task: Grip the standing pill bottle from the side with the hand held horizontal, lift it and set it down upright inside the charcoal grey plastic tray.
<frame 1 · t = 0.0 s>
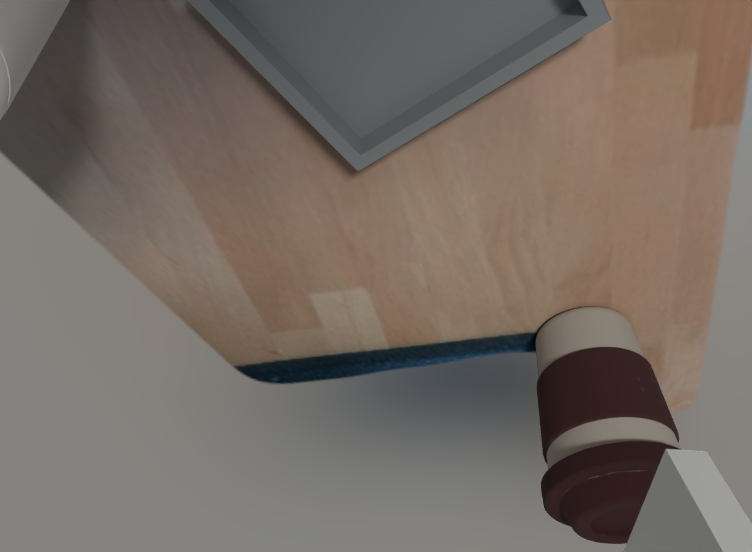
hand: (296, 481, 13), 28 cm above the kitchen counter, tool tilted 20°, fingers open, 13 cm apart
coffee cup: (581, 331, 55), on the kitchen counter
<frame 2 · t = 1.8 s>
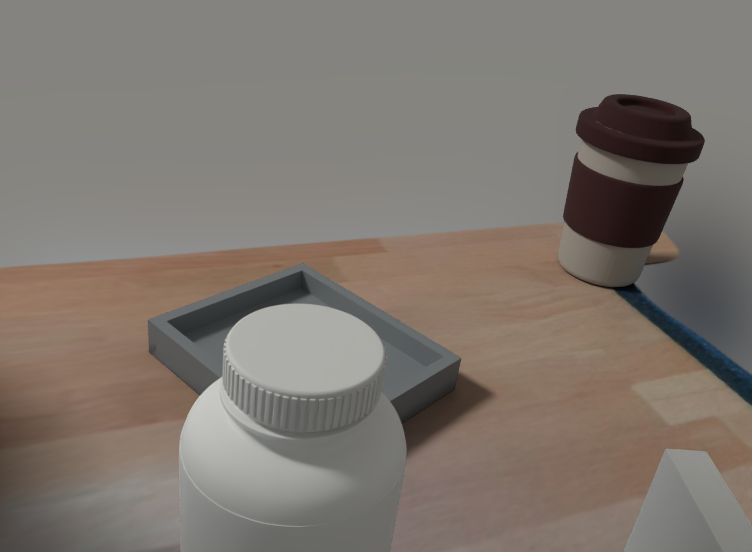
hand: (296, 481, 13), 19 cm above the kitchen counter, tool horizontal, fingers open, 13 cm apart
coffee cup: (596, 270, 65), on the kitchen counter
tray: (302, 370, 46), on the kitchen counter
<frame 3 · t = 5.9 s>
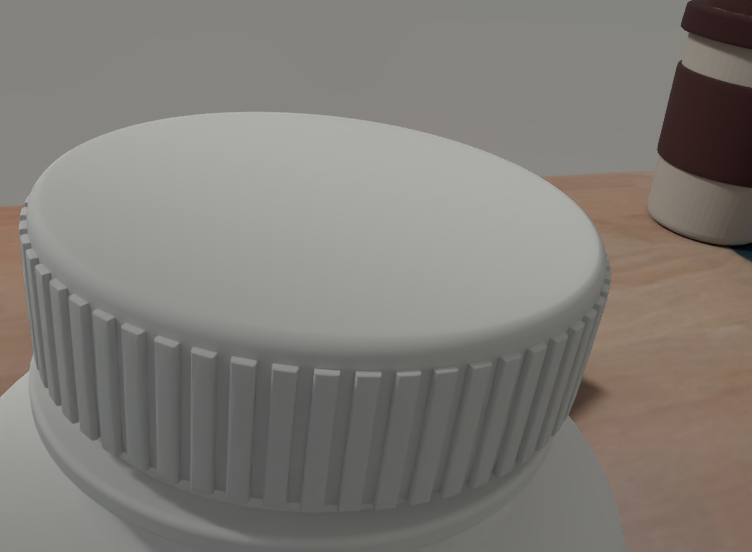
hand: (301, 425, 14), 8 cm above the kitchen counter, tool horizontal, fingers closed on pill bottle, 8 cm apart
coffee cup: (699, 226, 48), on the kitchen counter
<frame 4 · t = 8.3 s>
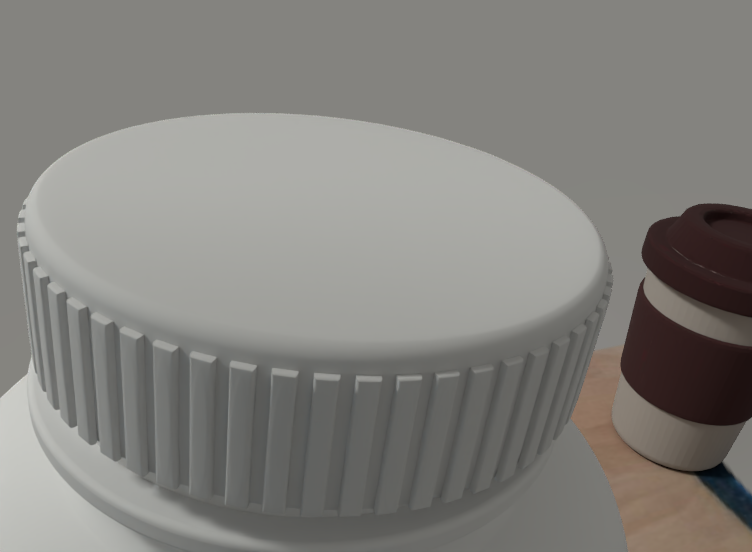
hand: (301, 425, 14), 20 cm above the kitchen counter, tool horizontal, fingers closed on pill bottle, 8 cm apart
coffee cup: (665, 437, 47), on the kitchen counter
when the fingers open (10 cm above the kitchen counter, at t = 11.1 s): pill bottle drops 1 cm, resting on tray.
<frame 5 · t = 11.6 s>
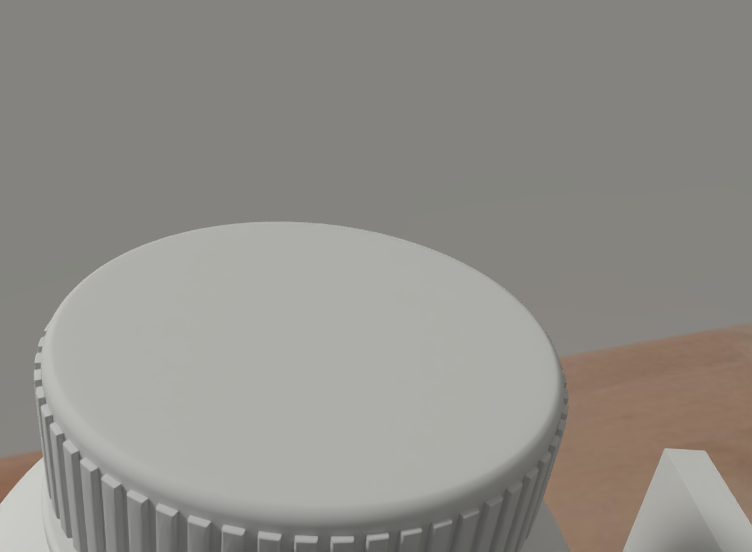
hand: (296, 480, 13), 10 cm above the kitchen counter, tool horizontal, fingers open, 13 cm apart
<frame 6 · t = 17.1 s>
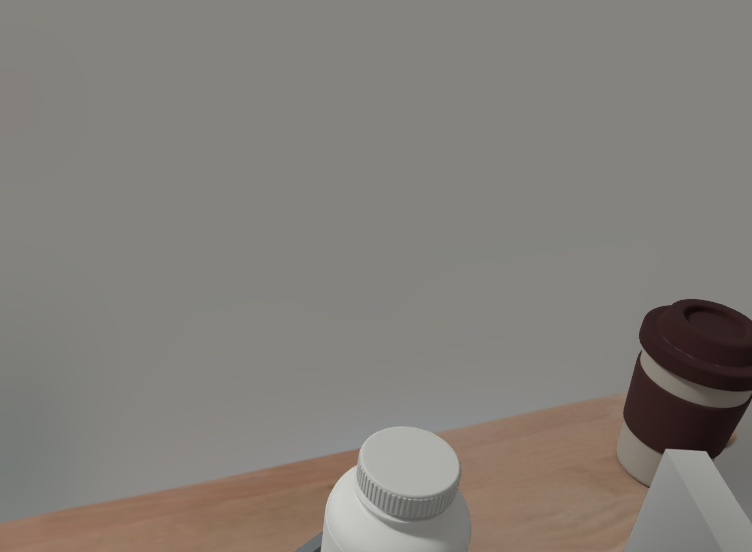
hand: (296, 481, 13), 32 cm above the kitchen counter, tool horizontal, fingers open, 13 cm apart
coffee cup: (656, 466, 63), on the kitchen counter
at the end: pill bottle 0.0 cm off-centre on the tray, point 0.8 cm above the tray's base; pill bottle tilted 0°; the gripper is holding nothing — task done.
